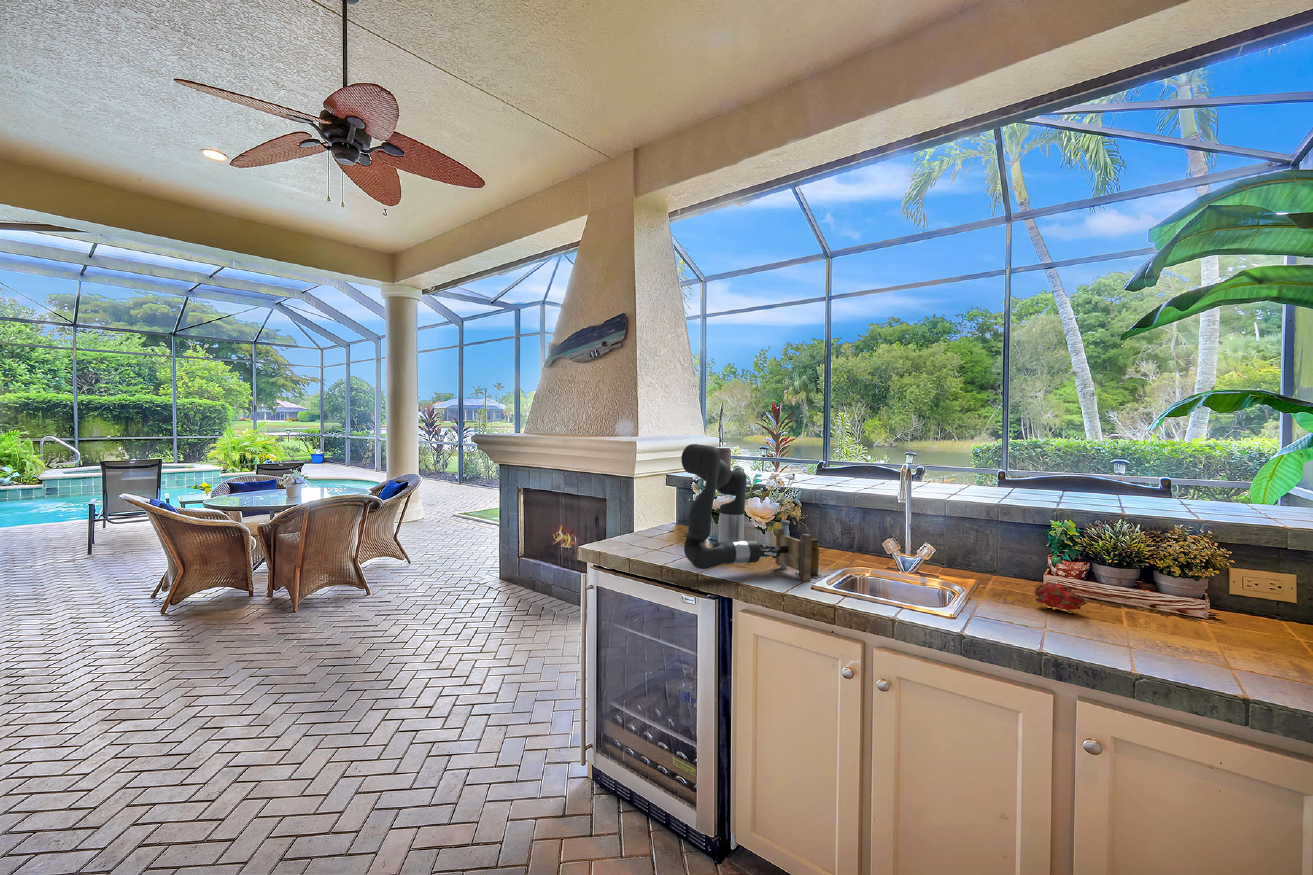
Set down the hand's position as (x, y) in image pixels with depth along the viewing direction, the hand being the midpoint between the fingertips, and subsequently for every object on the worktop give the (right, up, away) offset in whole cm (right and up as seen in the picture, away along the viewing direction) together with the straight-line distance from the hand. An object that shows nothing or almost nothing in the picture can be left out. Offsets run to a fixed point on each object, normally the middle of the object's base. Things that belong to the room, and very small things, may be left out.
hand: (786, 549), depth 180 cm
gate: (+1, -7, -1) cm, 7 cm away
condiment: (+8, -9, -1) cm, 12 cm away
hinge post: (+4, -8, -9) cm, 13 cm away
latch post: (0, -8, +6) cm, 10 cm away
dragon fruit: (+70, -11, -31) cm, 77 cm away
